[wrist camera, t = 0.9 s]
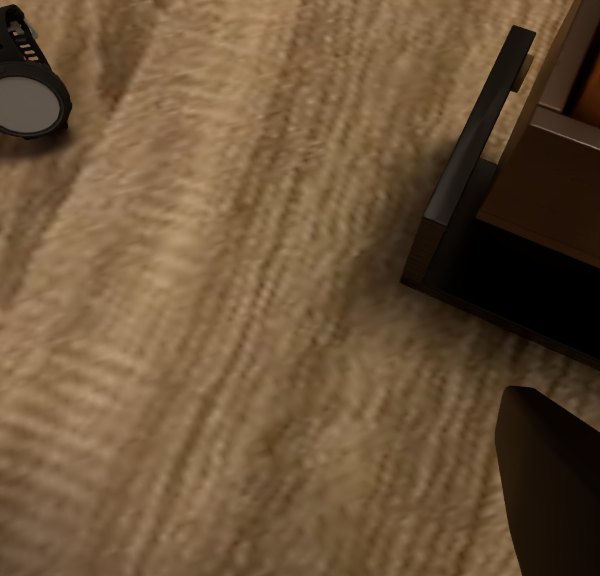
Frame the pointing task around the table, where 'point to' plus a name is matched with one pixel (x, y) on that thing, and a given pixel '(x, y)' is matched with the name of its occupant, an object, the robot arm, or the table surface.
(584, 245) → the bin
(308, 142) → the table surface
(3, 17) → the smartwatch
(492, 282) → the bin frame
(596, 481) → the robot arm
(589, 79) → the orange carton
